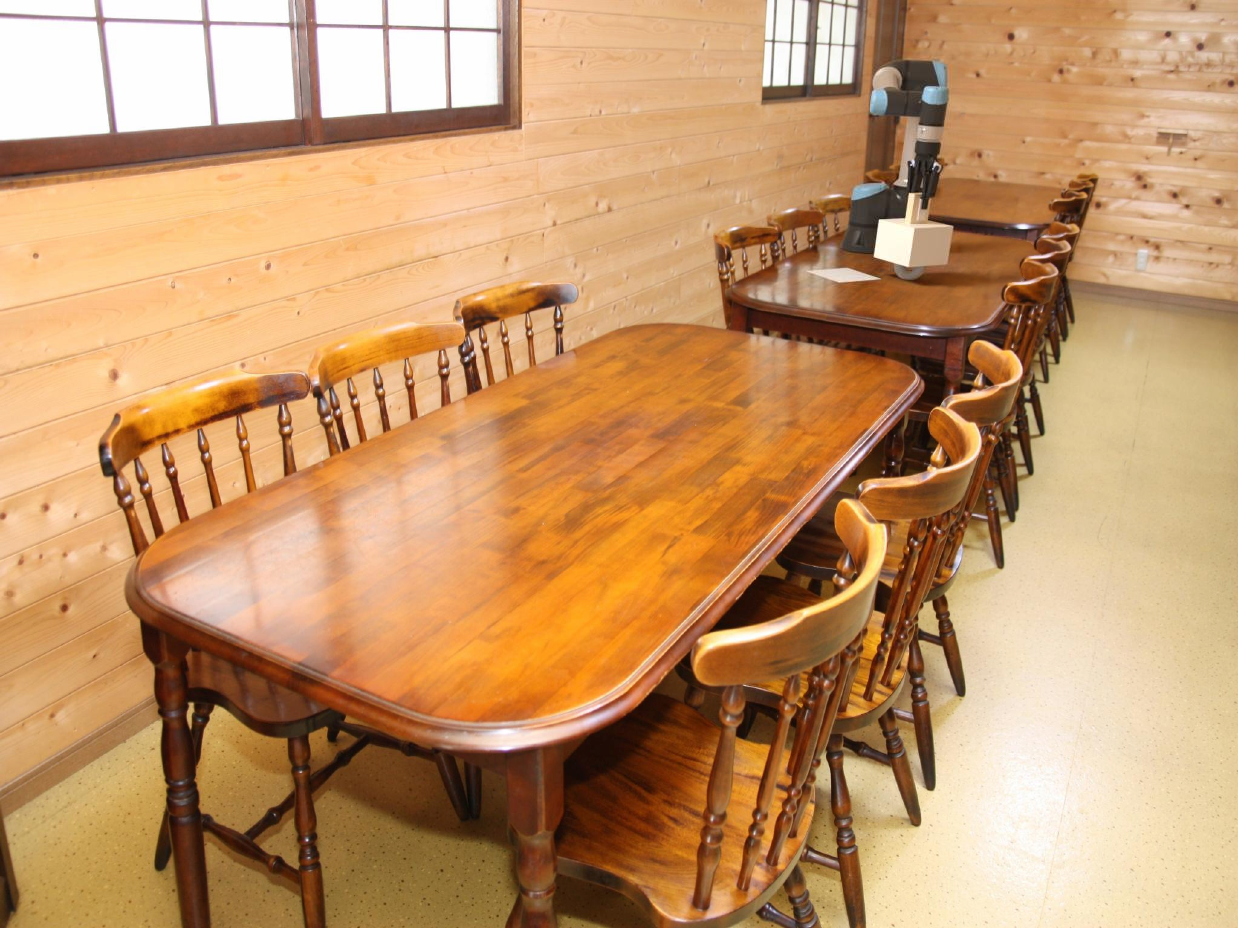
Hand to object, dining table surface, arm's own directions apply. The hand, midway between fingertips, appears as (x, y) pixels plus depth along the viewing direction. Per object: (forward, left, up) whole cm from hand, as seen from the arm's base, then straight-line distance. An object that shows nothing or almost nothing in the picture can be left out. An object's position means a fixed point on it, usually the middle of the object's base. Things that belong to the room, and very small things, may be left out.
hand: (916, 218), depth 321 cm
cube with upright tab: (0, 0, -13) cm, 13 cm away
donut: (0, 0, -20) cm, 20 cm away
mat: (-11, -17, -19) cm, 28 cm away
